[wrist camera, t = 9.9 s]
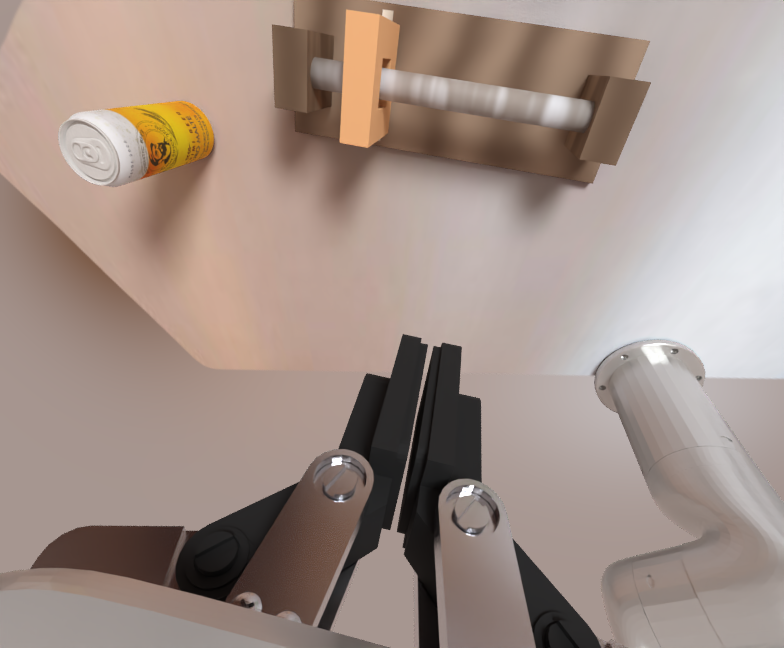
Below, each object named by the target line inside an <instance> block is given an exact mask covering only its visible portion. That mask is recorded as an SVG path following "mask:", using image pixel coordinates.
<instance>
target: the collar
mask: <svg viewBox="0 0 784 648" xmlns="http://www.w3.org/2000/svg"><path fill="white" fill-rule="evenodd" d="M399 31H400V25H398V24H397V23H395V22H393V21H391V20H389V19H387V18H385V17H384V16H382V15H380V14H374V13H367V12H360V11H353V10H346V24H345V44H344V64H343V84H342V105H341V125H340V143H344V144H349V145H355V146H361V147H366V148H368V147H370V146H371V145H373V144H374V143H375V142H377V141H378V140H379V139H381V138H382V137H384V136H385V135H386V134H388V129H389V120H390V111H391V102H392V101H386V100H380V99H379V92H380V82H381V72H382V68H387V69H394V70H395V66H396V58H397V49H398V40H399Z"/></svg>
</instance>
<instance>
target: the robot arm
mask: <svg viewBox="0 0 784 648" xmlns="http://www.w3.org/2000/svg"><path fill="white" fill-rule="evenodd" d="M427 347H428V345H427V344H422V343H421V338H418V337H414V336H409V335H404V334H403V336H402V339H401V343H400V346H399V350H398V353H397V357H396V360H395V364H394V367H393V371H392V375H391V378H385V377H381V376H377V375H372V374H366V376H365V378H364V381H363V384H362V386H361V389H360V392H359V394H358V397H357V400H356V403H355V405H354V408H353V411H352V414H351V416H350V419H349V422H348V424H347V427H346V430H345V433H344V436H343V438H342V441H341V443H340V446H339V449H334V450H331V451H328V452H324V453H323V454H321V455H320V456H318V457H316V459H315V460H314V461H313V462H312V463H311V464H310V466H309V467H308V469H307V470H306V472H305V474H304V475H303V477H302V478H301V480H300V482H298V483H296V484H294V485H292V486H290V487H287V488H285V489H283V490H282V491H279V492H277V493H275V494H273V495H270V496H269V497H266V498H264V499H262V500H260V501H258V502H256V503H253V504H251V505H249V506H247V507H245V508H243V509H241V510H239V511H237V512H235V513H232V514H230V515H228V516H226V517H224V518H222V519H220V520H218V521H215V522H213V523H211V524H209V525H207V526H206V527H204V528H202V529H201V530H199V531H185V527H184V526H85V527H79V528H76V529H73V530H71V531H69V532H67V533H64V534H62V535H61V536H60V537H58V538H57V539H55V540H54V541H53V542H52V543H50V544H49V545H48V546H47V547H46V548H45V549H44V551H43V552H42V553H41V554H40V555H39V557H38V558H37V560H36V561H35V562H34V564H33V565H32V567H31V569H28V570H18V571H11V572H6V573H0V648H389V647H385V646H382V645H378V644H375V643H371V642H367V641H364V640H360V639H357V638H353V637H349V636H345V635H342V634H339V633H335V632H332V631H333V629H334V626H335V624H336V621H337V619H338V616H339V613H340V611H341V609H342V606H343V603H344V601H345V598H346V596H347V593H348V591H349V588H350V585H351V583H352V581H353V578H354V576H355V573H356V571H357V568H358V565H359V562H360V559H361V558H362V557H364V556H365V555H367V554H369V553H370V552H372V551H373V550H375V549H376V548H377V547H378V542H379V538H380V533H381V528H383V529H388V530H390V528H391V524H392V520H393V516H394V512H395V507H396V503H397V499H398V495H399V490H400V486H401V482H402V478H403V474H404V469H405V465H406V461H407V456H408V451H409V446H410V441H411V435H412V430H413V424H414V418H415V413H416V407H417V402H418V397H419V391H420V386H421V380H422V375H423V369H424V364H425V358H426V353H427ZM461 350H462V347H461V346H456V345H451V344H446V343H442V345H441V347H436V346H434V348H433V352H432V356H431V360H430V364H429V368H428V373H427V377H426V381H425V385H424V390H423V394H422V398H421V402H420V407H419V411H418V415H417V420H416V425H415V431H414V437H413V442H412V449H411V454H410V459H409V465H408V471H407V477H406V482H405V488H404V494H403V500H402V505H401V511H400V517H399V522H398V528H397V532H399V533H403V534H405V537H404V543H403V548H405V552H404V555H405V557H406V559H407V560H408V562H409V563H410V565H411V566H412V567H413V569H414V648H784V502H783V501H782V499H781V498H780V497H779V495H778V494H777V493H776V491H775V490H774V489H773V487H772V486H771V485H770V483H769V482H768V481H767V479H766V478H765V476H764V475H763V474H762V472H761V471H760V469H759V468H758V466H757V465H756V464H755V462H754V461H753V460H752V458H751V457H750V456H749V454H748V452H747V451H746V450H745V448H744V447H743V445H742V444H741V443H740V441H739V440H738V438H737V437H736V435H735V434H734V432H733V431H732V430H731V428H730V427H729V425H728V424H727V422H726V421H725V420H724V418H723V417H722V415H721V414H720V412H719V411H718V410H717V408H716V407H715V405H714V404H713V402H712V401H711V400H710V398H709V397H708V395H707V394H706V392H705V391H704V390H703V388H702V386H703V384H704V381H705V369H704V365H703V363H702V362H701V360H700V359H699V357H698V356H697V355H696V354H695V353H694V352H693V351H692V350H691V349H689V348H688V347H686V346H684V345H682V344H679V343H676V342H672V341H667V340H646V341H641V342H636V343H633V344H630V345H627V346H625V347H623V348H621V349H619V350H617V351H615V352H614V353H613V354H611V355H610V356H608V357H607V358H606V359H605V360H604V361H603V362H602V364H601V365H600V367H599V368H598V370H597V373H596V375H595V382H594V383H595V389H596V392H597V395H598V397H599V399H600V400H601V402H602V403H603V404H604V405H605V406H606V407H607V408H609V409H610V410H612V411H614V412H616V413H618V414H619V417H620V419H621V422H622V424H623V426H624V429H625V431H626V434H627V436H628V439H629V441H630V444H631V446H632V449H633V451H634V454H635V456H636V458H637V461H638V464H639V466H640V469H641V471H642V474H643V476H644V478H645V481H646V483H647V486H648V488H649V491H650V493H651V495H652V498H653V500H654V501H655V503H656V505H657V506H658V507H659V509H660V510H661V511H662V512H663V513H664V515H666V517H667V518H668V519H670V520H671V521H672V522H673V523H675V524H676V525H677V526H679V527H680V528H681V529H683V530H685V531H686V532H688V533H689V534H691V535H693V536H694V537H696V538H698V540H695V541H692V542H688V543H684V544H682V545H680V546H675V547H671V548H666V549H662V550H658V551H653V552H649V553H645V554H640V555H636V556H633V557H629V558H625V559H623V560H619V561H616V562H614V563H612V564H611V565H609V566H608V567H607V568H606V570H605V571H604V573H603V576H602V581H601V592H602V598H603V603H604V607H605V611H606V615H607V618H608V621H609V624H610V628H611V631H612V634H613V637H614V640H615V641H614V640H612V639H611V640H610V641H609V642H606V641H604V640H602V639H600V638H598V637H596V636H595V634H594V633H593V632H592V630H591V629H590V627H589V626H588V625H587V623H586V622H585V621H584V620H583V619H582V618H581V617H580V615H579V614H578V613H577V612H576V611H575V610H574V609H573V607H572V606H571V605H570V604H569V603H568V602H567V600H566V599H565V598H564V597H563V596H562V595H561V594H560V592H559V591H558V590H557V589H556V588H555V587H554V586H553V584H552V583H551V582H550V581H549V580H548V579H547V578H546V576H545V575H544V574H543V573H542V572H541V570H539V568H538V567H537V566H536V565H535V564H534V563H533V562H532V560H531V559H530V558H529V557H528V556H527V555H526V553H525V552H524V551H523V550H522V549H521V548H520V546H519V545H518V544H517V543H516V542H515V541H514V540H513V538H512V535H511V530H510V526H509V521H508V517H507V512H506V510H505V507H504V505H503V502H502V501H501V499H500V498H499V497H498V495H497V494H496V493H495V492H494V491H493V490H492V489H491V488H489V487H488V486H487V485H484V484H483V483H482V481H481V400H480V398H476V397H471V396H467V395H462V394H459V384H460V367H461Z"/></svg>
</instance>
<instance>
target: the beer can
mask: <svg viewBox="0 0 784 648" xmlns="http://www.w3.org/2000/svg"><path fill="white" fill-rule="evenodd" d="M58 141H59V146H60V149H61V152H62V154H63V156H64V158H65V160H66V161H67V163H68V164H69V166H70V167H71V168H72V169H73V170H74V171H75V172H76V173H77V174H78V175H79V176H80V177H81V178H83V179H84V180H86V181H88V182H90V183H92V184H95V185H104V186H109V187H118V186H121V185H124V184H127V183H130V182H133V181H137V180H140V179H143V178H146V177H149V176H152V175H155V174H158V173H161V172H164V171H167V170H170V169H173V168H176V167H179V166H182V165H185V164H188V163H191V162H194V161H197V160H200V159H203V158H205V157H207V156H208V155H209V154H210V152H211V151H212V148H213V144H214V134H213V130H212V127H211V124H210V122H209V120H208V119H207V117H206V116H205V114H204V113H203V112H202V111H201V110H200V109H199V108H198V107H196V106H195V105H193V104H191V103H189V102H186V101H175V102H166V103H157V104H148V105H139V106H130V107H122V108H113V109H104V110H95V111H86V112H78V113H76V114H74V115H72V116H71V117H70V118H69V119H68V120H67V121H65V122H64V123H63V124H62V125H61V127H60V129H59V133H58Z"/></svg>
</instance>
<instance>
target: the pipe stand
mask: <svg viewBox="0 0 784 648" xmlns="http://www.w3.org/2000/svg"><path fill="white" fill-rule="evenodd" d="M346 10H353V11H360V12H367V13H374V14H380V15H382V16H384V17H385V18H387V19H389V20H391V21H393V22H395V23H397V24H398V25H400V31H399V40H398V49H397V58H396V66H395V70H394V69H387V68H382V72H381V82H380V92H379V99H380V100H386V101H392V102H391V111H390V120H389V129H388V134H386V135H385V136H384V137H382V138H381V139H379V140H378V141H377V142H375V143H374V144H373V145H376V146H382V147H387V148H393V149H399V150H404V151H410V152H416V153H422V154H427V155H433V156H439V157H444V158H450V159H456V160H462V161H467V162H473V163H479V164H484V165H490V166H496V167H502V168H507V169H513V170H519V171H525V172H530V173H536V174H542V175H547V176H553V177H559V178H565V179H570V180H576V181H582V182H587V183H593V181H594V179H595V176H596V174H597V171H598V169H599V166H600V164H601V163H603V164H609V165H615V166H616V164H617V161H618V159H619V157H620V154H621V152H622V150H623V147H624V145H625V143H626V140H627V138H628V136H629V133H630V131H631V128H632V126H633V124H634V121H635V119H636V117H637V114H638V112H639V110H640V107H641V105H642V103H643V100H644V98H645V96H646V93H647V91H648V89H649V86H650V84H651V82H645V81H638V80H635V77H636V75H637V72H638V70H639V67H640V65H641V62H642V60H643V57H644V55H645V52H646V50H647V47H648V45H649V43H650V41H646V40H639V39H632V38H625V37H618V36H611V35H604V34H598V33H591V32H584V31H577V30H570V29H563V28H556V27H549V26H542V25H535V24H529V23H522V22H515V21H508V20H501V19H494V18H487V17H480V16H473V15H466V14H460V13H453V12H446V11H439V10H432V9H425V8H418V7H411V6H404V5H397V4H391V3H384V2H377V1H370V0H294V28H292V27H285V26H279V25H272V39H273V68H274V98H275V108H281V109H287V110H292V111H295V131H296V132H301V133H307V134H313V135H319V136H324V137H330V138H336V139H340V125H341V105H342V84H343V64H344V44H345V24H346Z"/></svg>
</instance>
